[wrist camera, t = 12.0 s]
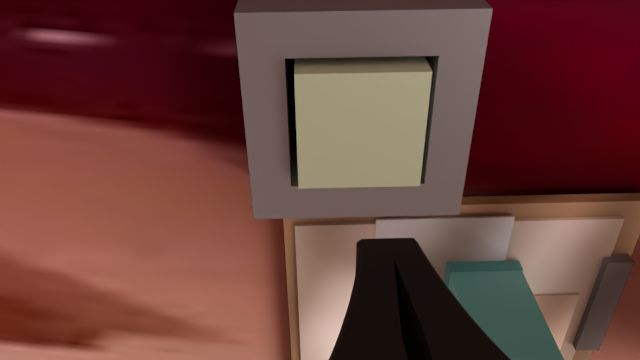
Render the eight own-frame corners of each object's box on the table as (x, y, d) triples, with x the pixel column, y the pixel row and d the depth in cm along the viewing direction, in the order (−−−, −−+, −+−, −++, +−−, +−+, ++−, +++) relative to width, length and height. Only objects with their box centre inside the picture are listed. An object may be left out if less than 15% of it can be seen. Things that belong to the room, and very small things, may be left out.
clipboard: (646, 192, 24) (660, 209, 23) (578, 368, 31) (587, 386, 30) (282, 200, 24) (282, 217, 23) (293, 375, 31) (292, 393, 30)
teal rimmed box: (518, 260, 25) (583, 395, 19) (506, 311, 27) (561, 448, 21) (446, 261, 25) (489, 397, 19) (438, 312, 27) (475, 450, 21)
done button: (418, 43, 20) (432, 71, 18) (408, 149, 22) (419, 186, 20) (295, 45, 20) (294, 74, 17) (299, 151, 22) (298, 188, 20)
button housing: (471, -14, 19) (492, 8, 17) (445, 178, 24) (459, 214, 21) (241, -10, 19) (233, 13, 17) (258, 182, 24) (253, 219, 21)
